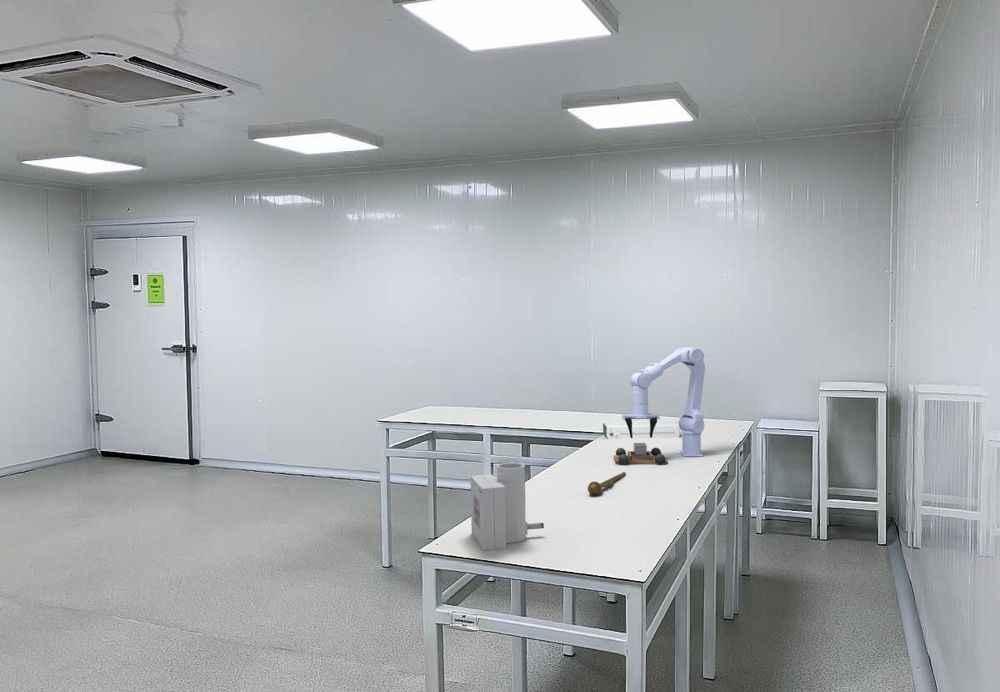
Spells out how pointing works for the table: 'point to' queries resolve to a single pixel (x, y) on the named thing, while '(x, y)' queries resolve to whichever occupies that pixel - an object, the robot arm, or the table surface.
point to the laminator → (641, 430)
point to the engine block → (640, 449)
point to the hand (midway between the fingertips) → (641, 437)
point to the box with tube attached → (500, 507)
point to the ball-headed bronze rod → (603, 484)
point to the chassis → (640, 457)
